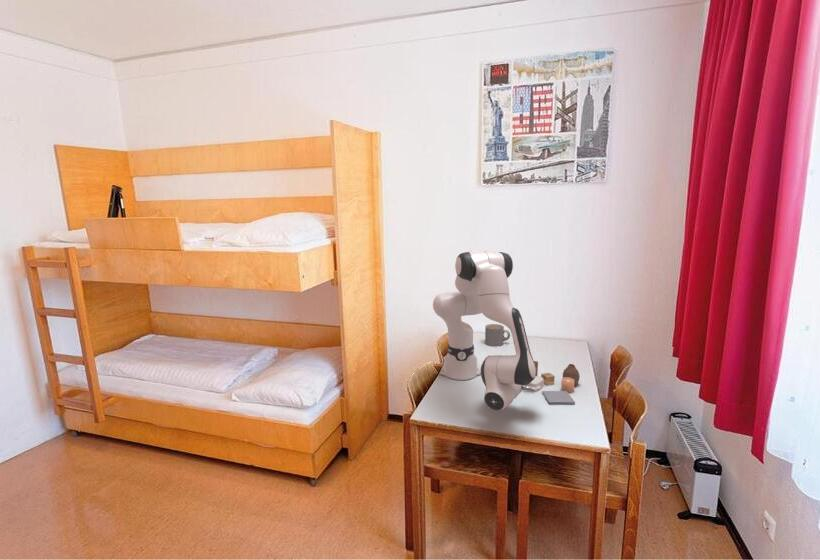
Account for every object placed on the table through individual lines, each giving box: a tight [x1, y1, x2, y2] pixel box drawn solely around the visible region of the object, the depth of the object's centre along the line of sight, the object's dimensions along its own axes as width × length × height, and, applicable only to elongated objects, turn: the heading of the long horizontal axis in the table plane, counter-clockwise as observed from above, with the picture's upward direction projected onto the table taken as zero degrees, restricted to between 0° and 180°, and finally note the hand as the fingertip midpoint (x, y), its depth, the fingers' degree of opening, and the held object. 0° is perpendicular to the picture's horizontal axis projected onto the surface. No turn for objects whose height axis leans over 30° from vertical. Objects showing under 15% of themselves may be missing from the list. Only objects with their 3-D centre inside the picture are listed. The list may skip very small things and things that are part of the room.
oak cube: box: [540, 372, 555, 387], centre depth 187 cm, size 4×4×4 cm
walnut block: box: [533, 360, 539, 377], centre depth 181 cm, size 4×4×12 cm
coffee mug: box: [484, 323, 511, 348], centre depth 238 cm, size 13×10×10 cm
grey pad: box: [541, 390, 576, 406], centre depth 173 cm, size 10×10×1 cm
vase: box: [562, 363, 581, 387], centre depth 186 cm, size 7×7×9 cm
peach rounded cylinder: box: [560, 376, 575, 394], centre depth 180 cm, size 5×5×5 cm
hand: (522, 372), depth 169 cm, fingers open, 8 cm apart
